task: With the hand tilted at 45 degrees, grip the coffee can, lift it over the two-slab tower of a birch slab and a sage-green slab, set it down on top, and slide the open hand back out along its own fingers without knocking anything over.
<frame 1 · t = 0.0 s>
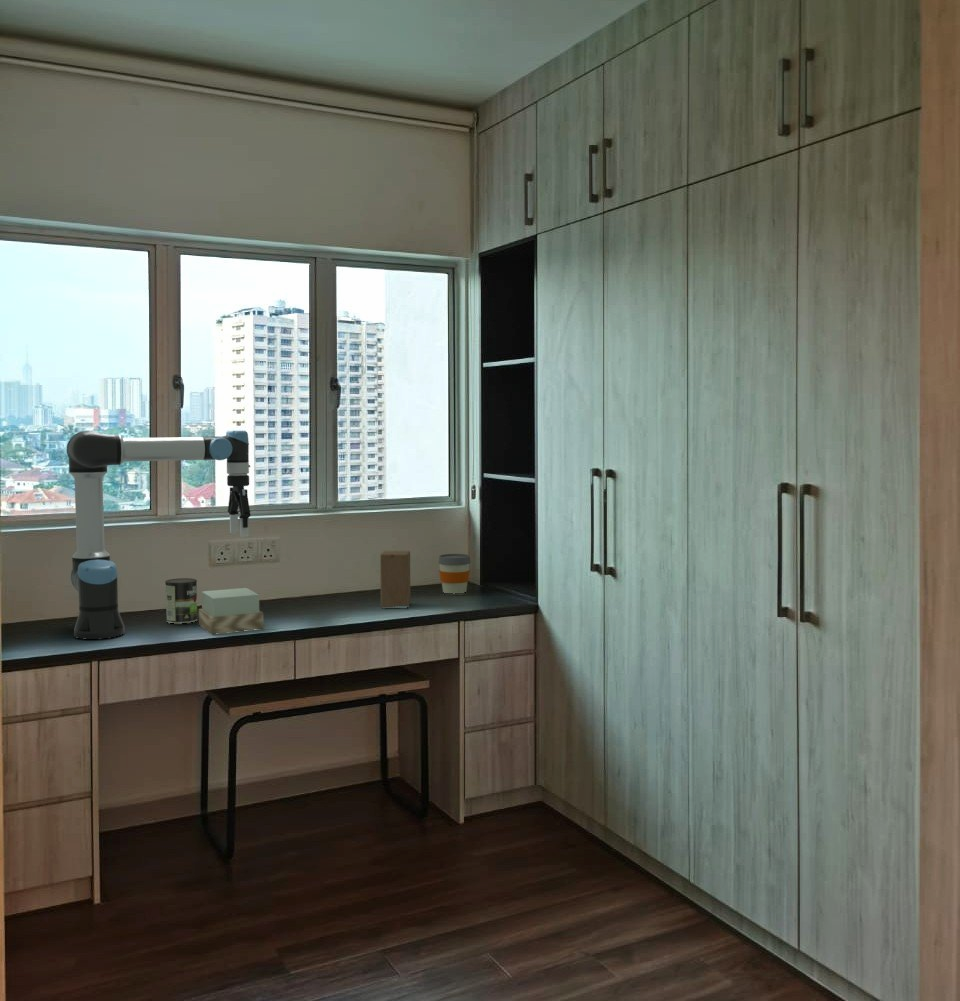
hand: (239, 535, 356), 28 cm above the table, tool pointing down, fingers open, 13 cm apart
coffee can: (182, 621, 345), on the table
birch base slab: (231, 628, 335), on the table
wooden block: (395, 606, 372), on the table
sage top slab: (230, 610, 334), point 5 cm above the table
reusable coffee cup: (454, 594, 398), on the table
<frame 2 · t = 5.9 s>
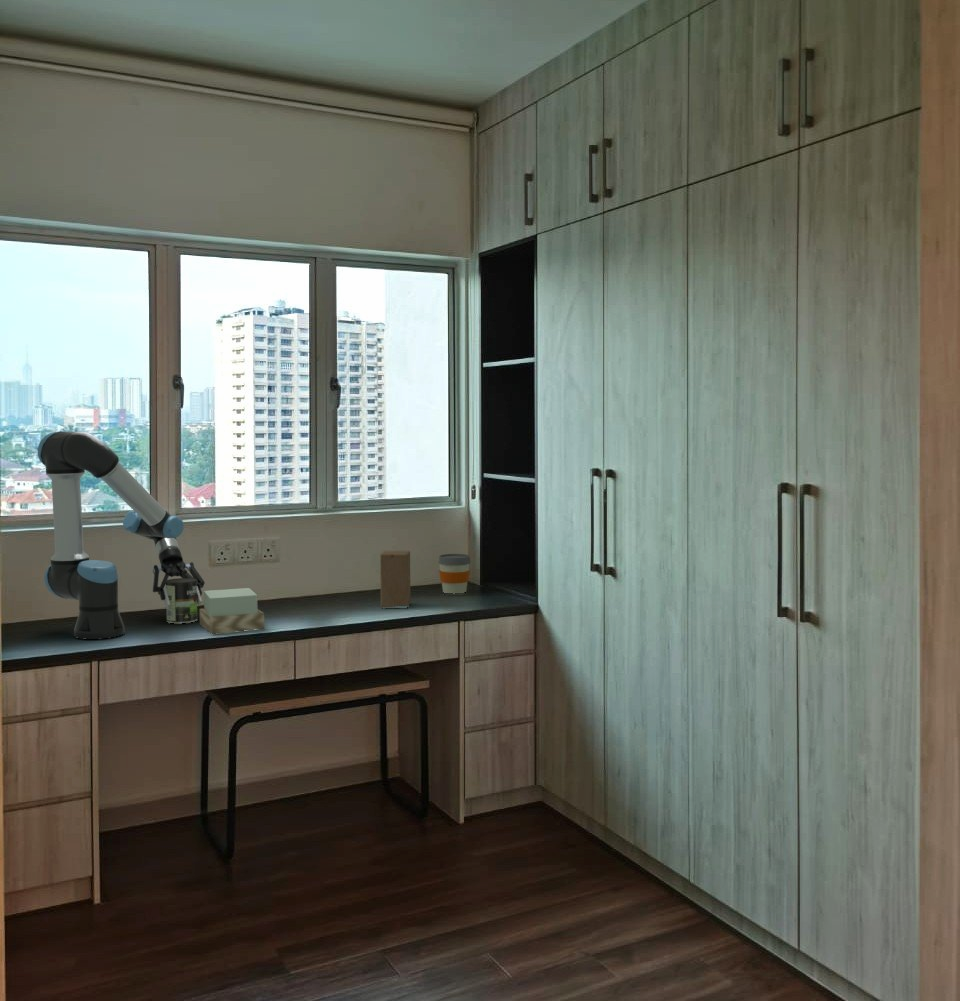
hand: (184, 605, 342), 6 cm above the table, tool tilted 45°, fingers closed on coffee can, 10 cm apart
coffee can: (182, 621, 345), on the table, touching gripper
when the fingers open (19 cm above the table, at t = 11.7 s): coffee can drops 1 cm, resting on sage top slab.
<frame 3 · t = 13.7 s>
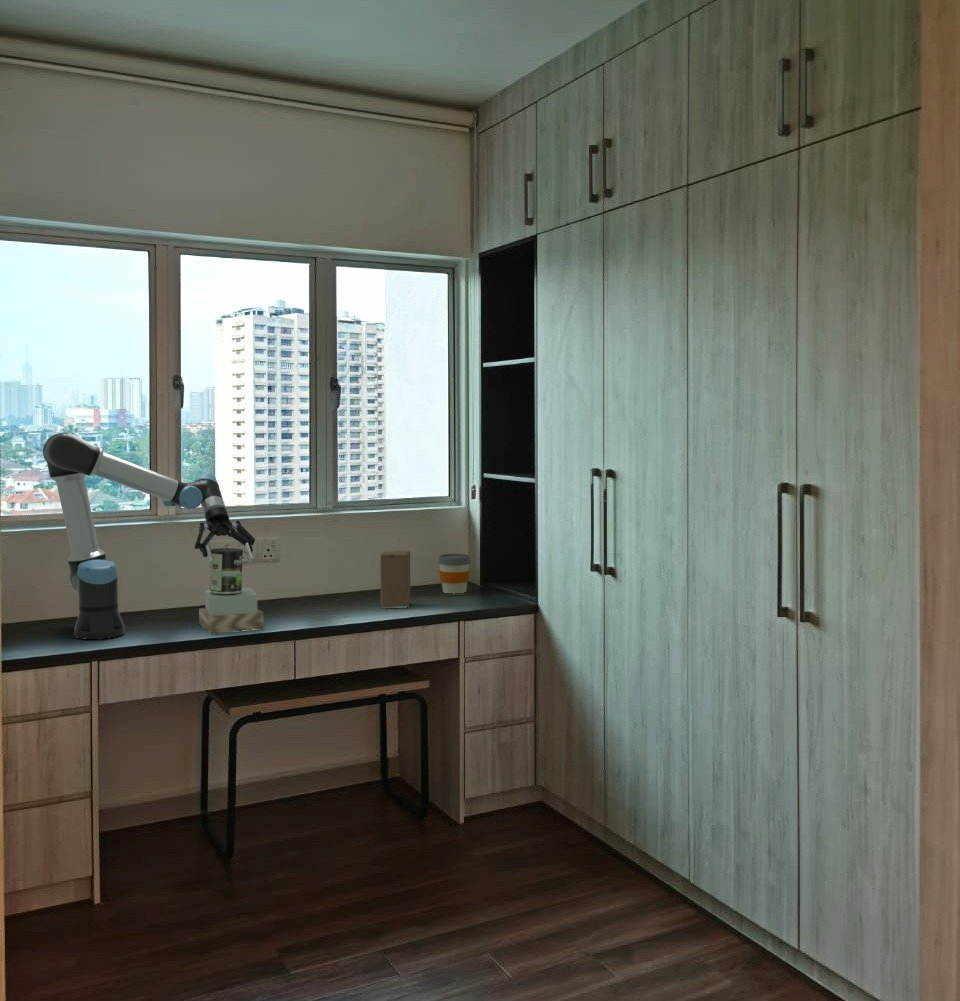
hand: (231, 562, 334), 22 cm above the table, tool tilted 45°, fingers open, 13 cm apart
coffee can: (225, 592, 334), point 12 cm above the table, touching gripper, sage top slab
sage top slab: (231, 610, 335), point 6 cm above the table, touching coffee can
everything else where it was.
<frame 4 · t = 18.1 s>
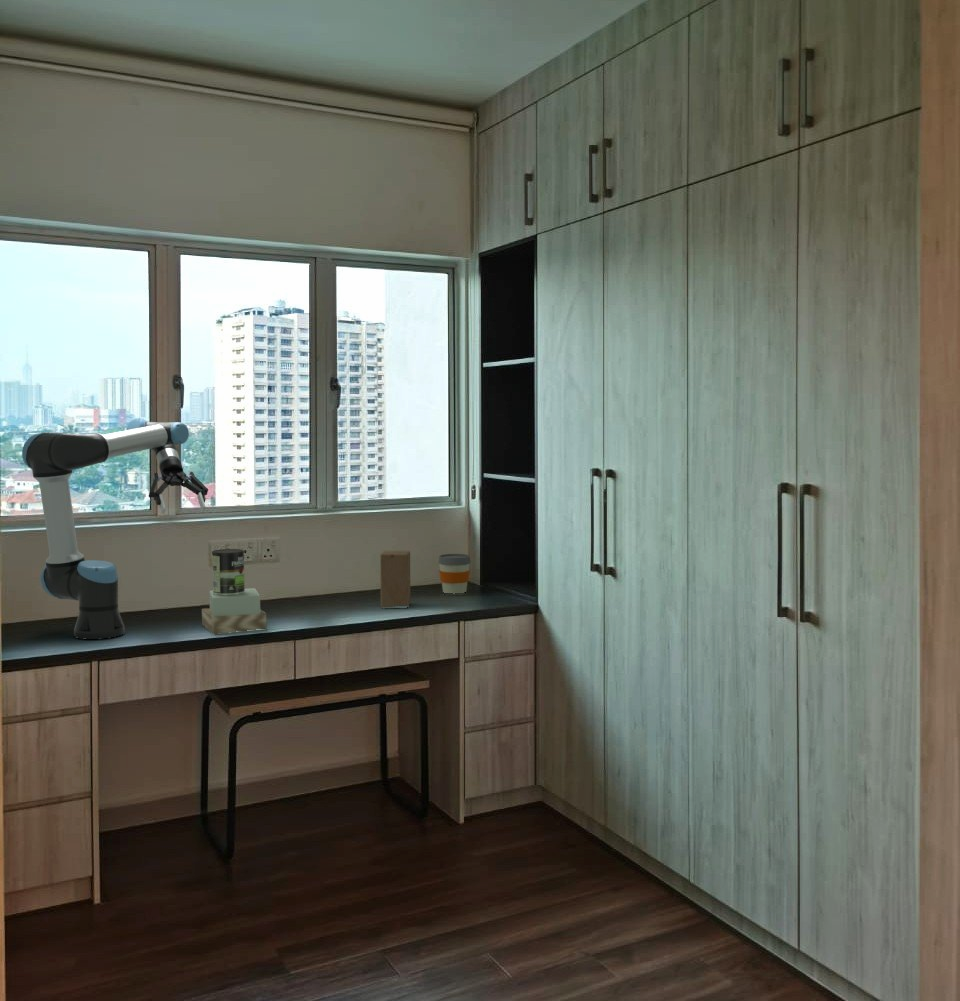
hand: (184, 510, 345), 38 cm above the table, tool tilted 45°, fingers open, 13 cm apart
coffee can: (229, 593, 334), point 11 cm above the table, touching sage top slab
birch base slab: (233, 628, 335), on the table, touching sage top slab
sage top slab: (234, 610, 334), point 5 cm above the table, touching birch base slab, coffee can
everything else where it was.
at the end: coffee can inside the target area on the birch base slab (1.4 cm from its centre), point 11.8 cm above the birch base slab's base; sage top slab 0.4 cm from the birch base slab (horizontally); coffee can tilted 0° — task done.
